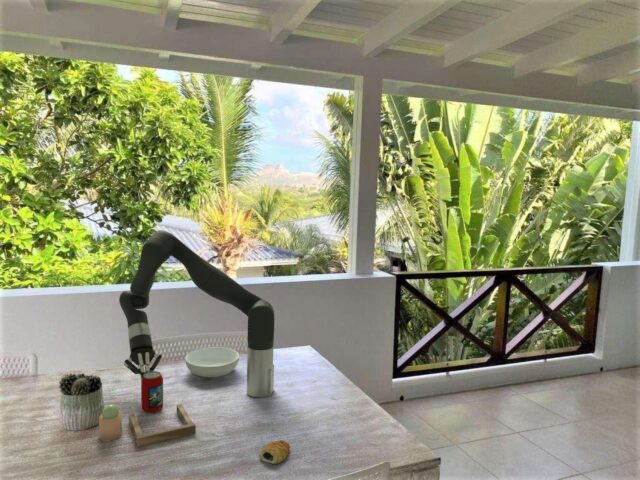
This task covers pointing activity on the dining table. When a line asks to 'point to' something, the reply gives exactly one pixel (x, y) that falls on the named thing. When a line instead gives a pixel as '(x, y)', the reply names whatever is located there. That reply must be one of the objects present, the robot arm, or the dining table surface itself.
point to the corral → (163, 434)
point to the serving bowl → (212, 361)
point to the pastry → (275, 452)
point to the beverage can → (152, 392)
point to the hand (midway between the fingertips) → (146, 383)
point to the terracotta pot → (110, 423)
